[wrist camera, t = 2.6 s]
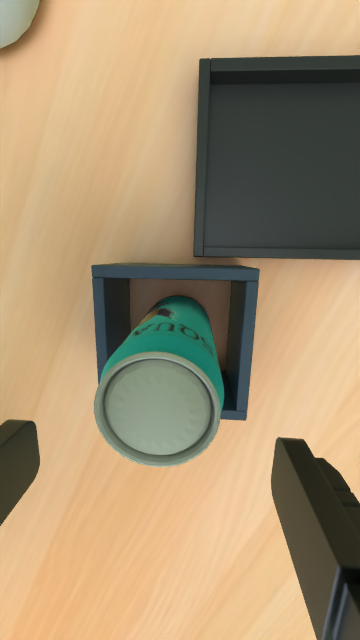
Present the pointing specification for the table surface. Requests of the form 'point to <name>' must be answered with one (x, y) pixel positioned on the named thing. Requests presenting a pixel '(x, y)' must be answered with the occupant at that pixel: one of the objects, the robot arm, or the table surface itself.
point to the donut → (15, 19)
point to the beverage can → (162, 387)
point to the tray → (278, 158)
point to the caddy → (115, 277)
